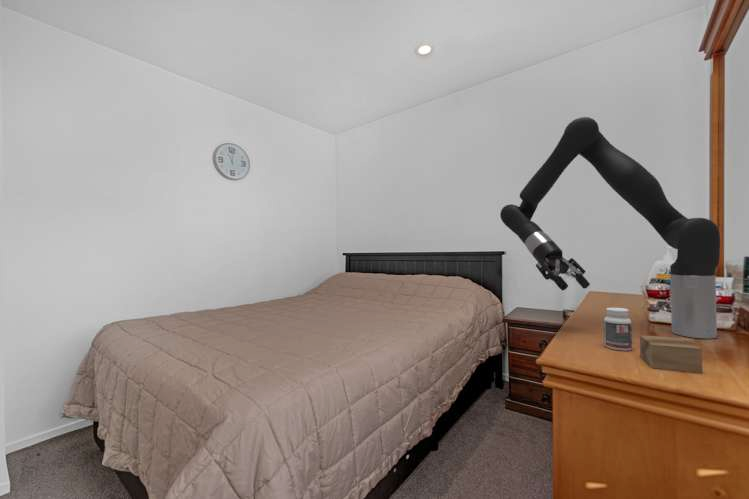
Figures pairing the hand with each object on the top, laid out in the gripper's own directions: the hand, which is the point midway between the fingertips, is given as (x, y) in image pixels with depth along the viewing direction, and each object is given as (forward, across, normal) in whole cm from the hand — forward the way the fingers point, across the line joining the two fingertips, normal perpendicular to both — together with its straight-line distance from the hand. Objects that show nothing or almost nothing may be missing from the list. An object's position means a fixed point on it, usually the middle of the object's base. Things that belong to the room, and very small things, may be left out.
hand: (576, 287), depth 93 cm
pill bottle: (+18, 0, +2) cm, 18 cm away
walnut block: (+26, -2, -6) cm, 27 cm away
